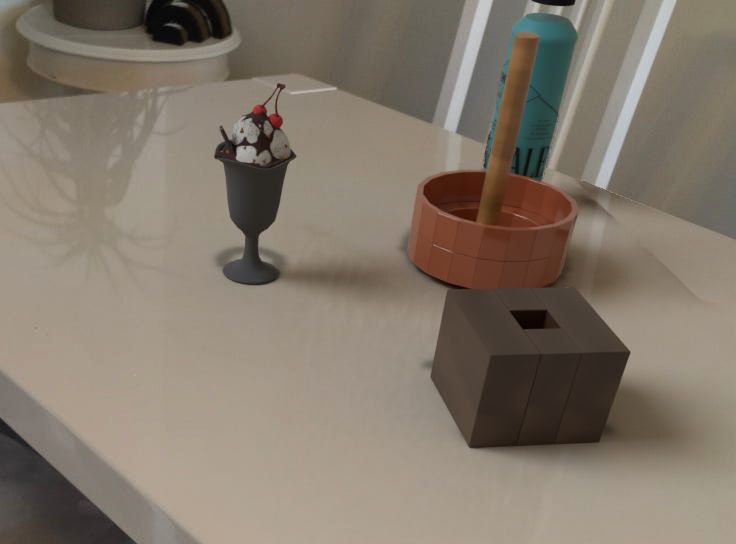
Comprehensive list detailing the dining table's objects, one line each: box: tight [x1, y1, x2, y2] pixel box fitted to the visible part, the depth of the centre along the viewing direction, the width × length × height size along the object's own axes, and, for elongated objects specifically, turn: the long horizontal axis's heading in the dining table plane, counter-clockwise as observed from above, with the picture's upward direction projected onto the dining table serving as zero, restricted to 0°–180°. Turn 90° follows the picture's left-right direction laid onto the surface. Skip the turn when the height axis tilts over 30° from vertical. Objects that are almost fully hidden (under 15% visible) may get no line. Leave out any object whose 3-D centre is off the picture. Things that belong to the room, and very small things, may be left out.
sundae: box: [213, 82, 298, 285], centre depth 81 cm, size 7×7×15 cm
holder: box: [430, 286, 631, 448], centre depth 70 cm, size 10×10×7 cm
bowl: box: [406, 169, 579, 289], centre depth 88 cm, size 14×14×6 cm
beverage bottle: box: [480, 0, 579, 182], centre depth 96 cm, size 6×7×20 cm
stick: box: [476, 32, 540, 226], centre depth 84 cm, size 2×2×18 cm
